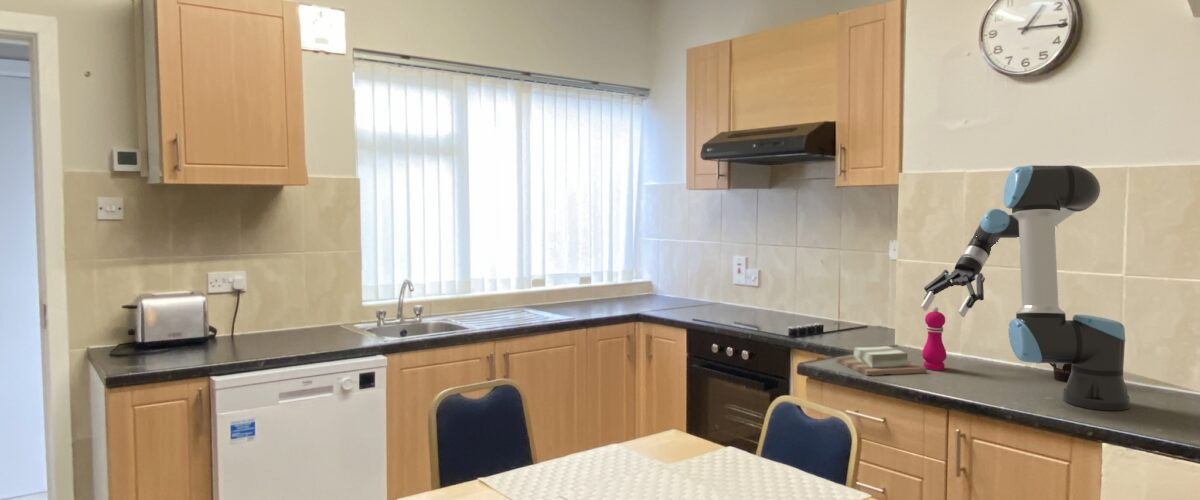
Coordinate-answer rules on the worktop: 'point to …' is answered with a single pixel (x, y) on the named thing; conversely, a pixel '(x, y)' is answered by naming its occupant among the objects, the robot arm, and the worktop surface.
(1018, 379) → the worktop surface
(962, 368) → the worktop surface
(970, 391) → the worktop surface
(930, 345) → the pepper mill
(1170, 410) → the worktop surface
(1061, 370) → the coffee mug
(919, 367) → the base
